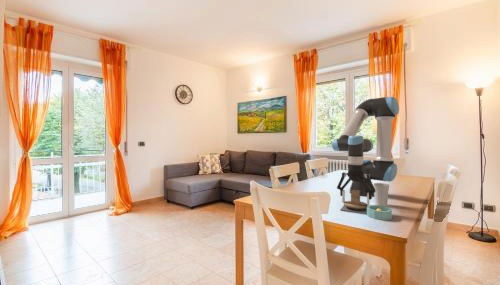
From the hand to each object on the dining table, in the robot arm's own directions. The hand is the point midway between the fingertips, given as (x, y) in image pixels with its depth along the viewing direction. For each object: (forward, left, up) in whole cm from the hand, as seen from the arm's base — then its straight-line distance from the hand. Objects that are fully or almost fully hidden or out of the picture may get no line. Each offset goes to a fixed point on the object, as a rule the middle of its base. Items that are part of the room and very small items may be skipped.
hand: (355, 203), depth 132 cm
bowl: (+6, +12, -3) cm, 14 cm away
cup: (-16, +11, -3) cm, 20 cm away
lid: (0, 0, -1) cm, 1 cm away
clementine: (+6, +12, -1) cm, 13 cm away
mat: (0, 0, -3) cm, 3 cm away
